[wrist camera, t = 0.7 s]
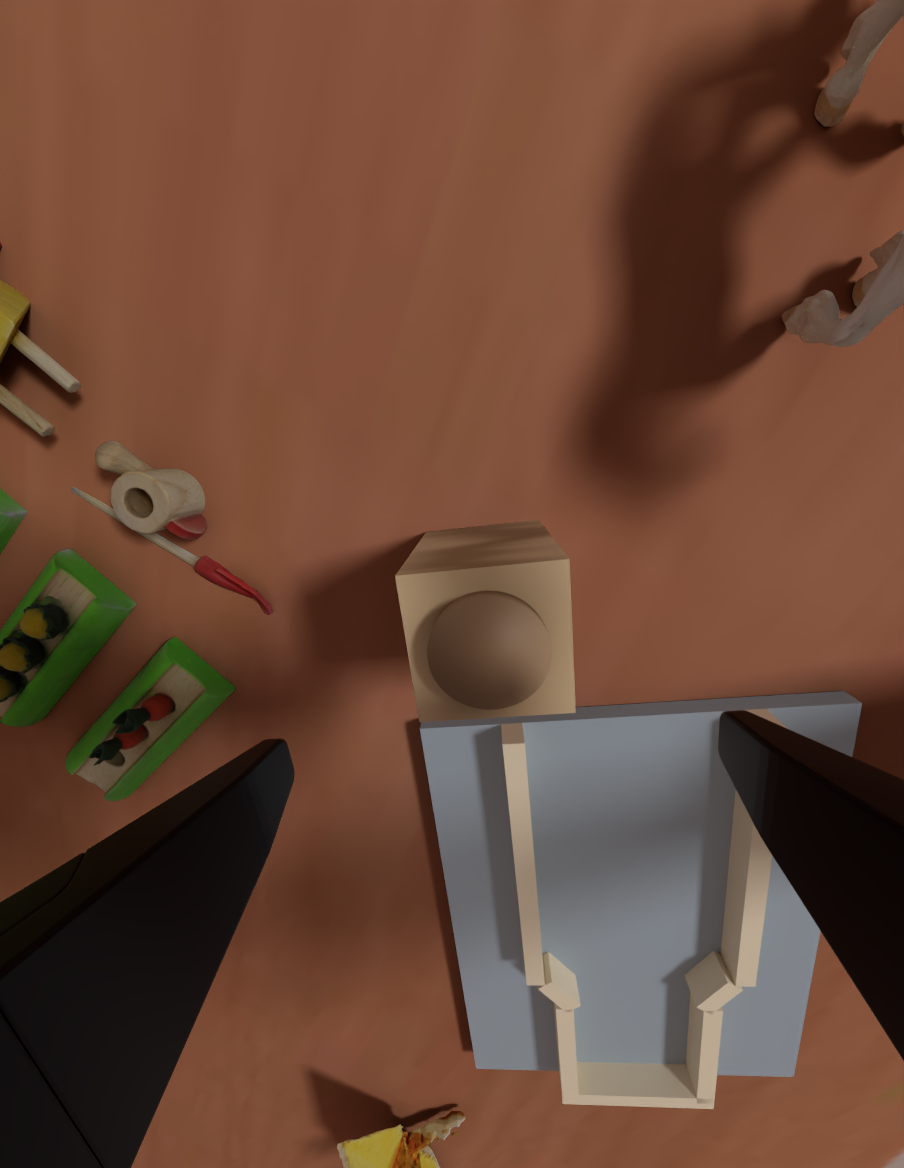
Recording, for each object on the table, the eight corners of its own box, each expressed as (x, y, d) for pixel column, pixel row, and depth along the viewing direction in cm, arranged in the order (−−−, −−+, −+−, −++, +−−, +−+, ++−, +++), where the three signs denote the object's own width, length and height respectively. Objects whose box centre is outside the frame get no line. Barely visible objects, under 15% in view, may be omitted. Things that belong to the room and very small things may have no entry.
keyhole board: (844, 690, 20) (892, 723, 17) (782, 1055, 28) (811, 1112, 25) (422, 716, 22) (414, 749, 20) (476, 1048, 30) (475, 1101, 27)
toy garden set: (-228, 501, 22) (-408, 514, 17) (-81, 157, 17) (-282, 53, 12) (143, 782, 25) (73, 851, 21) (353, 571, 20) (317, 604, 16)
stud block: (539, 519, 19) (573, 564, 11) (545, 625, 20) (579, 724, 13) (426, 531, 19) (390, 581, 12) (440, 633, 21) (416, 733, 13)
